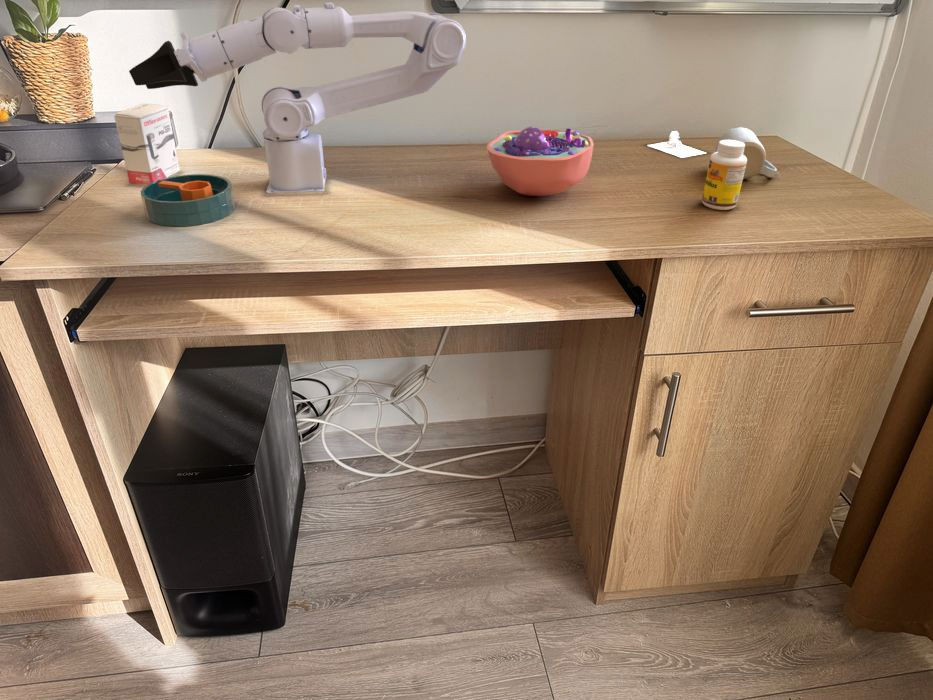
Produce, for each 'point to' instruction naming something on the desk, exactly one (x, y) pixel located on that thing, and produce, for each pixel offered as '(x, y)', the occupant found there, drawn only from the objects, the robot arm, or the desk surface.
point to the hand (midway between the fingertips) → (138, 80)
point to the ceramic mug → (750, 152)
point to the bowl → (187, 202)
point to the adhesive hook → (676, 147)
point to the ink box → (147, 143)
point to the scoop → (190, 189)
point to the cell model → (541, 160)
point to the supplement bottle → (725, 175)
